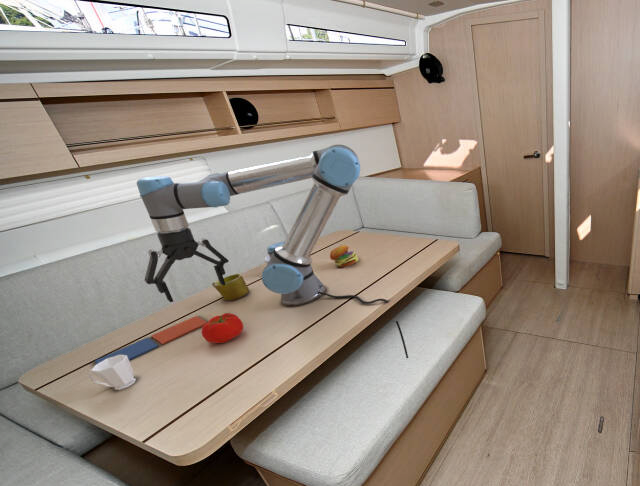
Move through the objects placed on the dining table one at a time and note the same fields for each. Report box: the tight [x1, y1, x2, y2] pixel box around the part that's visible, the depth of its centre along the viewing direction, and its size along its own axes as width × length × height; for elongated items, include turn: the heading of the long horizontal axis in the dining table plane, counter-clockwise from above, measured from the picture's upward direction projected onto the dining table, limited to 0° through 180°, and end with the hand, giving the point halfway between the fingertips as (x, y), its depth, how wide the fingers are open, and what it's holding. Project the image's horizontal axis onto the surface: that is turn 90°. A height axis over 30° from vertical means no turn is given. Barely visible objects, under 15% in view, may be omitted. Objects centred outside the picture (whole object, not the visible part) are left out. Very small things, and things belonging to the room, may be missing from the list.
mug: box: [211, 273, 250, 301], centre depth 143 cm, size 12×10×10 cm
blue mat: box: [94, 337, 159, 365], centre depth 113 cm, size 10×13×1 cm
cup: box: [87, 355, 137, 391], centre depth 98 cm, size 7×10×8 cm
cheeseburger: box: [329, 244, 359, 268], centre depth 164 cm, size 10×11×10 cm
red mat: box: [151, 315, 208, 346], centre depth 124 cm, size 10×13×1 cm
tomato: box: [201, 312, 244, 344], centre depth 116 cm, size 11×11×8 cm
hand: (198, 292), depth 114 cm, fingers open, 13 cm apart
